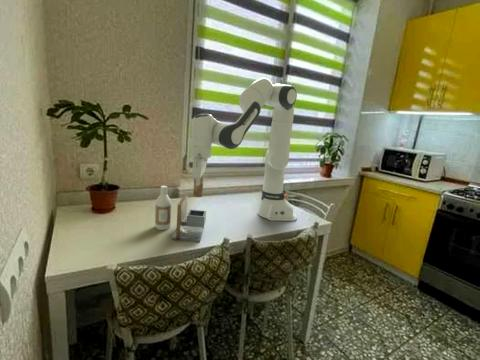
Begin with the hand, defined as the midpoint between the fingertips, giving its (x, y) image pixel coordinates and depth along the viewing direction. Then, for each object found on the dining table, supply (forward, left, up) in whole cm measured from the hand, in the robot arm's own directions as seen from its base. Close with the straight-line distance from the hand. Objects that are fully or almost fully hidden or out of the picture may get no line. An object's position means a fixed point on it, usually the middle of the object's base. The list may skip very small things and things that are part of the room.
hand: (198, 183), depth 123 cm
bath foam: (+16, -4, -24) cm, 29 cm away
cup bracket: (+3, 0, -24) cm, 24 cm away
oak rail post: (0, 0, -6) cm, 6 cm away
